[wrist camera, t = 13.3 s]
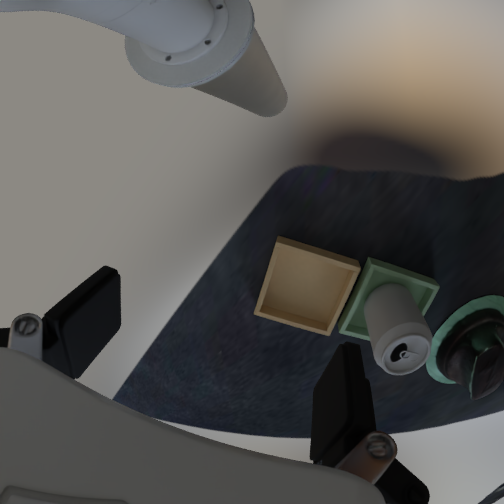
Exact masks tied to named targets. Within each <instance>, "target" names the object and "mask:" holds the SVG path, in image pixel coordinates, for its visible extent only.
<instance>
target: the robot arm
mask: <svg viewBox="0 0 504 504" xmlns="http://www.w3.org/2000/svg"><path fill="white" fill-rule="evenodd" d="M220 8H221V9H220ZM34 10H35V11H50V12H57V13H62V14H66V15H70V16H74V17H77V18H80V19H83V20H86V21H89V22H92V23H95V24H98V25H100V26H103V27H106V28H108V29H111V30H114V31H116V32H118V33H121V34H123V35H126V36H128V37H130V38H133V39H135V40H137V41H139V44H140V46H141V48H142V50H143V52H144V53H145V54H146V55H147V56H148V57H149V58H150V59H152V60H154V61H156V62H159V63H162V64H165V65H182V64H186V63H190V62H192V61H195V60H197V59H199V58H201V57H202V56H204V55H206V54H207V53H208V52H209V51H211V50H212V49H213V48H214V47H215V46H216V45H217V44H218V43H219V41H220V40H221V38H222V37H223V35H224V33H225V31H226V29H227V25H228V20H229V14H228V9H227V5H226V4H225V2H224V0H0V12H15V11H34ZM210 42H211V44H209V43H210ZM208 44H209V45H208ZM171 58H172V59H171ZM170 59H171V60H170ZM120 283H121V281H120V275H119V274H118V271H117V270H116V269H114V268H111V267H108V266H103V267H102V268H100V269H99V270H98V271H97V272H95V273H94V274H93V275H91V276H90V277H89V278H88V279H87V280H85V281H84V282H83V283H81V284H80V285H79V286H78V287H77V288H75V289H74V290H73V291H72V292H70V293H69V294H68V295H67V296H66V297H64V298H63V299H62V300H61V301H59V302H58V303H57V304H56V305H55V306H54V307H52V308H51V309H50V310H49V311H48V312H46V314H45V315H44V317H43V318H42V319H41V318H40V317H39V316H37V315H35V314H31V313H26V314H22V315H19V316H18V317H16V318H15V319H14V320H13V322H12V324H11V328H0V504H428V502H429V497H430V495H429V490H428V488H427V486H426V485H425V484H424V483H423V482H422V481H420V480H419V479H418V478H417V477H416V476H415V475H413V474H412V473H411V472H410V471H409V470H408V469H407V468H406V467H405V466H403V465H402V464H401V463H400V462H399V461H398V460H397V459H396V458H395V457H396V455H397V445H396V443H395V441H394V439H392V437H391V436H390V435H388V434H386V433H384V432H381V431H376V423H375V415H374V408H373V401H372V394H371V387H370V382H369V380H368V379H367V378H365V373H364V367H363V361H362V355H361V349H360V345H359V344H355V343H350V342H345V343H344V344H340V345H339V346H338V348H337V350H336V351H335V353H334V355H333V357H332V359H331V360H330V362H329V364H328V365H327V367H326V369H325V371H324V372H323V374H322V376H321V377H320V379H319V381H318V382H317V384H316V386H315V388H314V392H313V410H312V430H311V446H310V460H313V464H312V463H307V462H302V461H296V460H291V459H286V458H281V457H276V456H272V455H267V454H263V453H259V452H255V451H251V450H247V449H242V448H239V447H235V446H231V445H228V444H225V443H221V442H218V441H214V440H211V439H208V438H205V437H202V436H199V435H195V434H193V433H190V432H187V431H184V430H182V429H179V428H176V427H173V426H171V425H168V424H166V423H163V422H161V421H158V420H156V419H153V418H151V417H149V416H146V415H144V414H142V413H139V412H137V411H135V410H133V409H130V408H128V407H126V406H124V405H122V404H120V403H118V402H115V401H113V400H111V399H109V398H107V397H105V396H103V395H101V394H99V393H97V392H96V391H94V390H92V389H90V388H88V387H86V386H85V385H83V384H81V383H79V382H77V381H75V380H74V379H75V378H76V379H77V378H79V377H80V376H81V375H82V374H83V372H84V371H85V370H86V369H87V368H88V366H89V365H90V364H91V363H92V361H93V360H94V359H95V357H97V355H98V354H99V353H100V352H101V350H102V349H103V348H104V347H105V345H106V344H107V343H108V342H109V341H110V340H111V338H112V337H113V336H114V335H115V334H116V333H117V331H118V330H119V329H120V326H121V295H120V294H121V293H120V291H121V290H120V288H121V286H120V285H121V284H120Z"/></svg>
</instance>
